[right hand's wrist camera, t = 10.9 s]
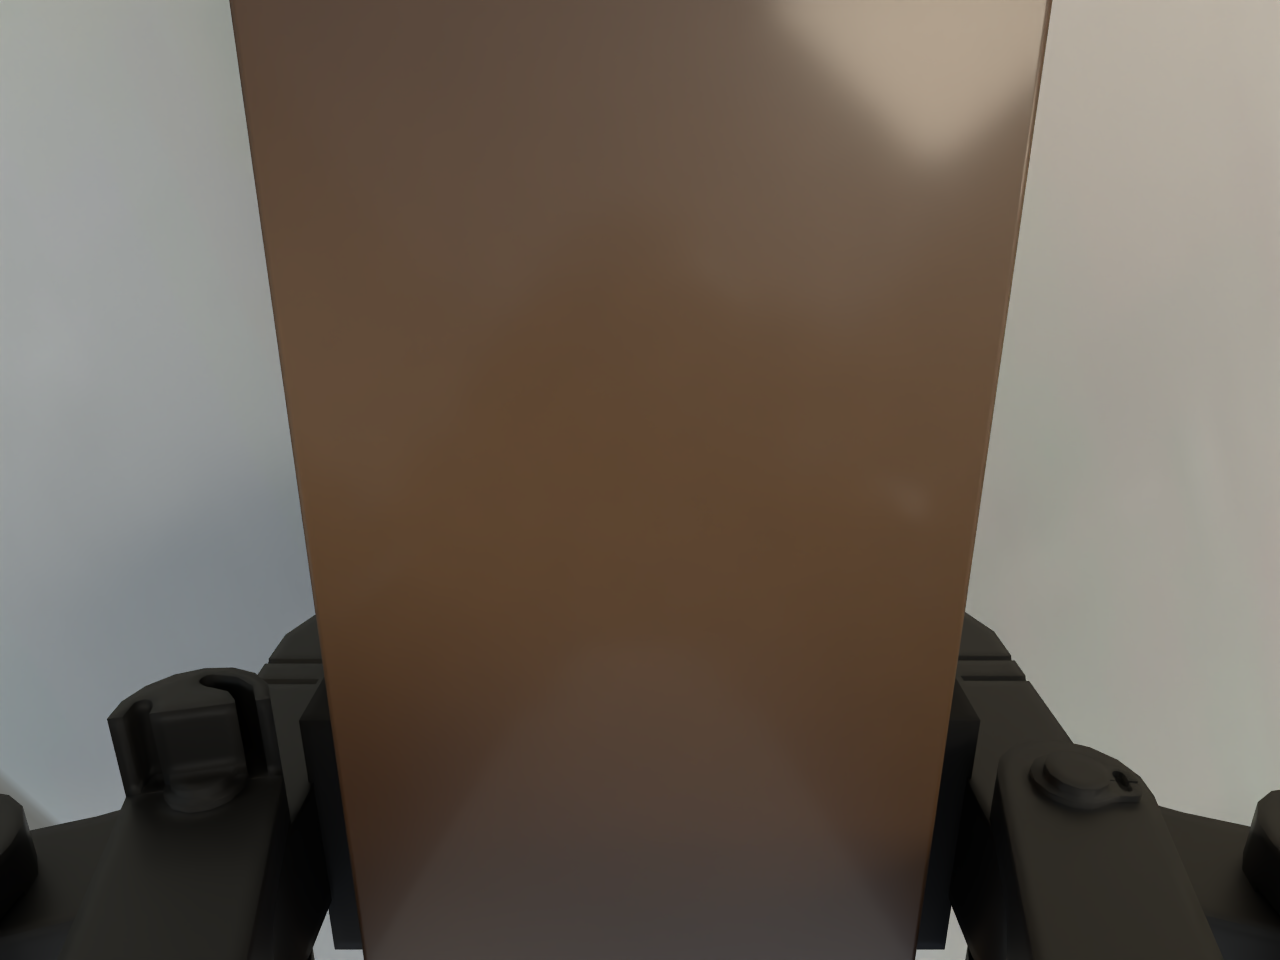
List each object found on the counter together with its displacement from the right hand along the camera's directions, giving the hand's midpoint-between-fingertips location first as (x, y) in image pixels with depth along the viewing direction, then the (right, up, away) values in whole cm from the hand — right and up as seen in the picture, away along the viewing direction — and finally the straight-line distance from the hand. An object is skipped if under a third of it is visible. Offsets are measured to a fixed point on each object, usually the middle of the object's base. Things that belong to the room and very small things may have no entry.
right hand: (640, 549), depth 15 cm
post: (0, +23, -8) cm, 24 cm away
